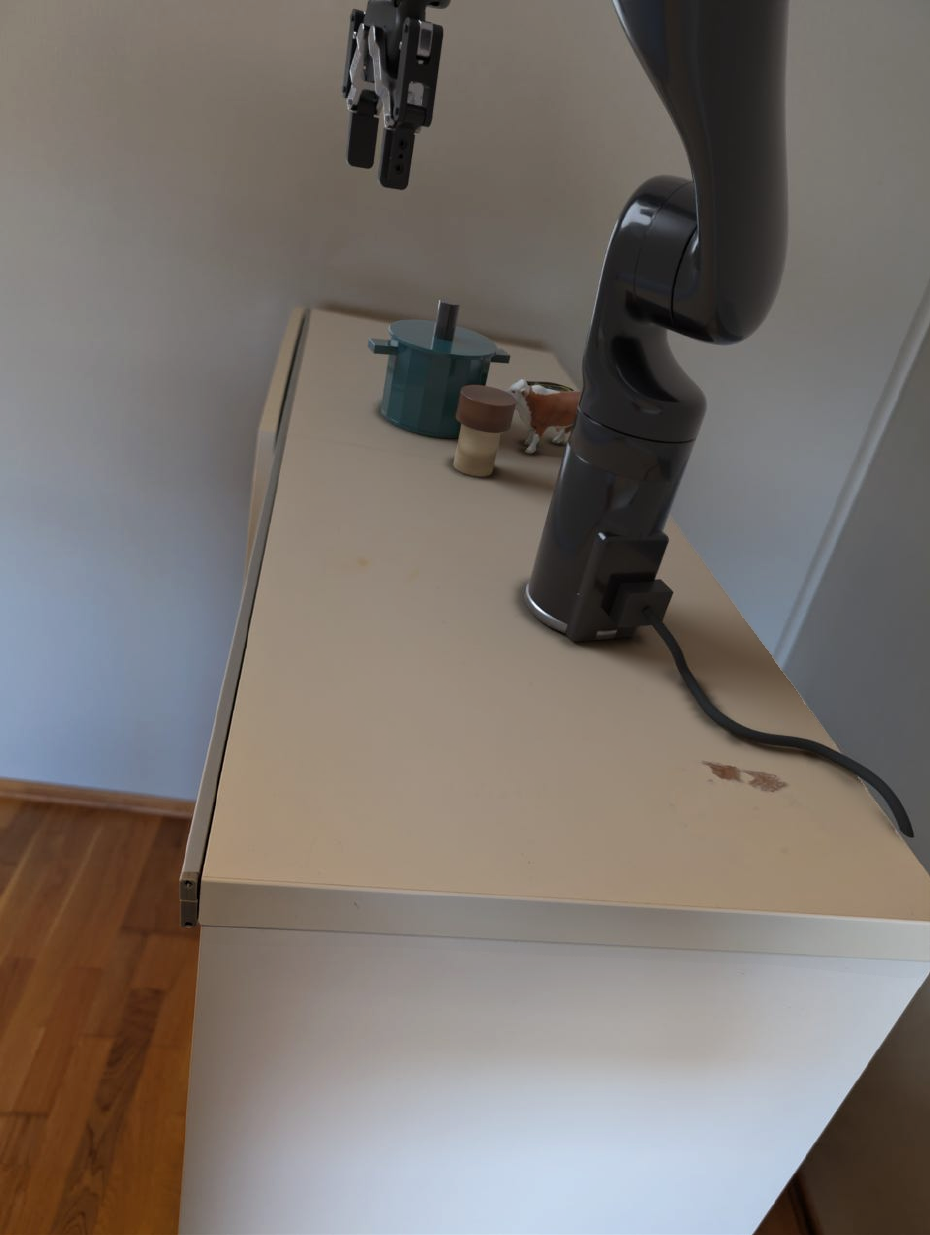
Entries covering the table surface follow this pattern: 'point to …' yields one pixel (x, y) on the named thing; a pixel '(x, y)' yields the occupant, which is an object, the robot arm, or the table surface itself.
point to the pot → (427, 387)
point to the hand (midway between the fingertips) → (374, 177)
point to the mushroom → (481, 427)
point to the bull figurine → (544, 410)
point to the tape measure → (550, 386)
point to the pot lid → (443, 335)
